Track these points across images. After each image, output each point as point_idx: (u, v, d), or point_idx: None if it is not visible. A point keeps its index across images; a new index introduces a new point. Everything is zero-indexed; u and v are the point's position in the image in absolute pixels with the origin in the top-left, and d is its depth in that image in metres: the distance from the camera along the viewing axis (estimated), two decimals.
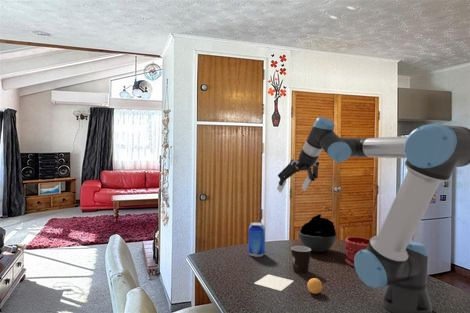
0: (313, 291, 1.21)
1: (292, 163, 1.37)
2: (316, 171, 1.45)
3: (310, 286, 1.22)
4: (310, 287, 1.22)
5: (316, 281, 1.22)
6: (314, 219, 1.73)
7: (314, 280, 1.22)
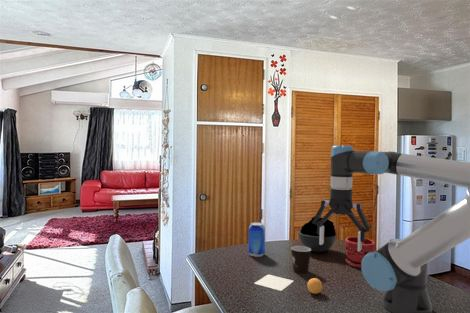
0: (313, 291, 1.21)
1: None
2: (361, 218, 1.13)
3: (310, 286, 1.22)
4: (310, 287, 1.22)
5: (316, 281, 1.22)
6: None
7: (314, 280, 1.22)
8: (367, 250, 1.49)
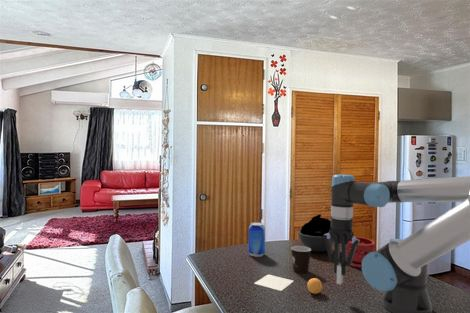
0: (313, 291, 1.21)
1: None
2: (351, 252, 1.15)
3: (310, 286, 1.22)
4: (310, 287, 1.22)
5: (316, 281, 1.22)
6: (314, 219, 1.73)
7: (314, 280, 1.22)
8: (367, 250, 1.49)
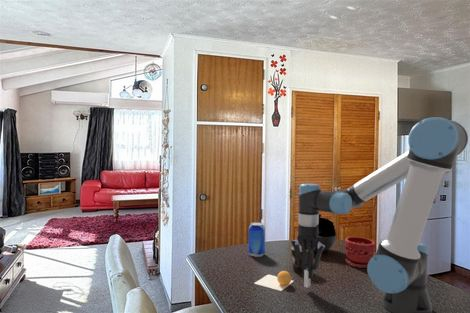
0: (278, 279, 1.29)
1: None
2: (316, 257, 1.22)
3: (282, 278, 1.28)
4: (281, 278, 1.28)
5: (287, 283, 1.29)
6: None
7: (288, 282, 1.28)
8: (367, 250, 1.49)
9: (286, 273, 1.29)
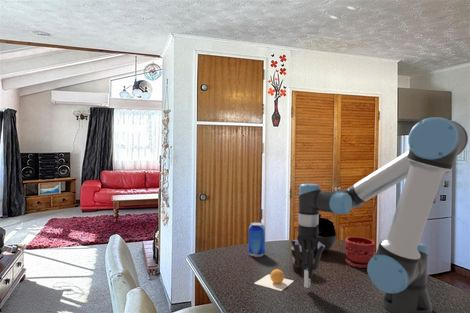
0: (273, 280, 1.31)
1: None
2: (316, 257, 1.22)
3: (273, 276, 1.30)
4: (273, 276, 1.30)
5: (281, 275, 1.30)
6: None
7: (279, 273, 1.30)
8: (367, 250, 1.49)
9: (273, 270, 1.33)
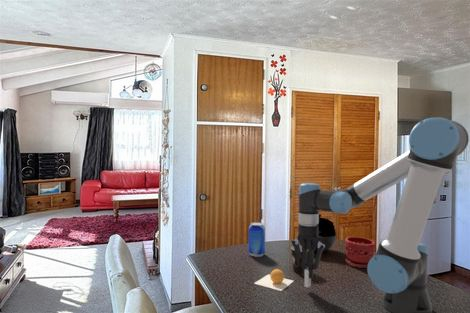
0: (273, 280, 1.31)
1: None
2: (317, 257, 1.22)
3: (273, 276, 1.30)
4: (273, 276, 1.30)
5: (281, 275, 1.30)
6: None
7: (279, 273, 1.30)
8: (367, 250, 1.49)
9: (273, 270, 1.33)
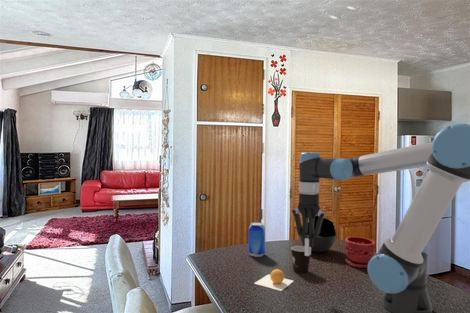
0: (273, 280, 1.31)
1: None
2: (317, 225, 1.22)
3: (273, 276, 1.30)
4: (273, 276, 1.30)
5: (281, 275, 1.30)
6: None
7: (279, 273, 1.30)
8: (367, 250, 1.49)
9: (273, 270, 1.33)
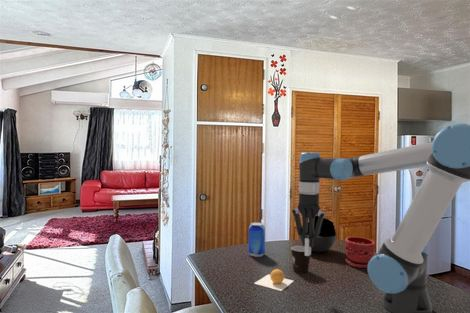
0: (273, 280, 1.31)
1: None
2: (317, 225, 1.22)
3: (273, 276, 1.30)
4: (273, 276, 1.30)
5: (281, 275, 1.30)
6: None
7: (279, 273, 1.30)
8: (367, 250, 1.49)
9: (273, 270, 1.33)
